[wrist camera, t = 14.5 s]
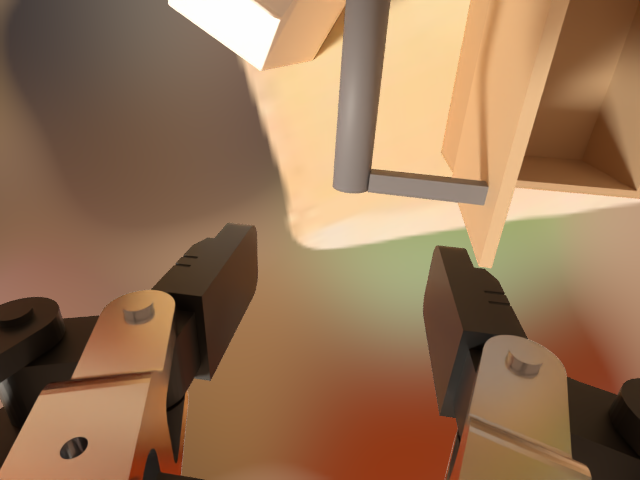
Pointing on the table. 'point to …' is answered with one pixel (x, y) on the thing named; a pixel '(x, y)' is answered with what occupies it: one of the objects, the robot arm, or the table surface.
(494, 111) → the carton flap
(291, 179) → the table surface
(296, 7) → the milk
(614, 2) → the carton
